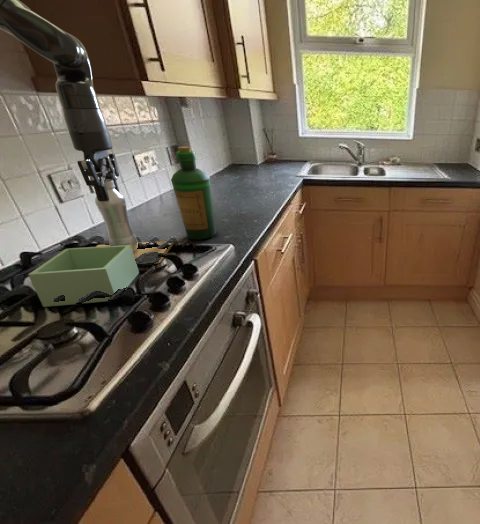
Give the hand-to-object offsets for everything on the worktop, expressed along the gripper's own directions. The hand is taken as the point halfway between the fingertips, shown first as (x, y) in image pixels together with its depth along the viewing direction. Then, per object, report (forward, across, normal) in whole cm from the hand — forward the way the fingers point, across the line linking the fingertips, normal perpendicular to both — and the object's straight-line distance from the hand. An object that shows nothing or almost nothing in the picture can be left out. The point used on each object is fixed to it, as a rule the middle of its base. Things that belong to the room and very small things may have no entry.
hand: (109, 197), depth 87 cm
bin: (+17, +19, 0) cm, 25 cm away
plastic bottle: (+16, 0, 0) cm, 16 cm away
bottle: (+17, -13, +17) cm, 27 cm away
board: (+17, 0, 0) cm, 17 cm away
